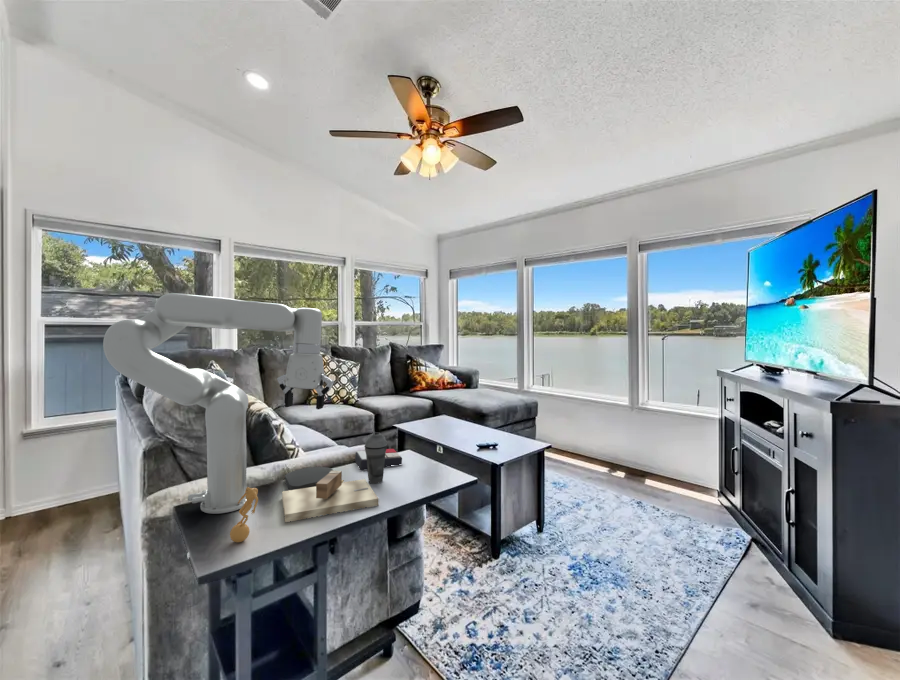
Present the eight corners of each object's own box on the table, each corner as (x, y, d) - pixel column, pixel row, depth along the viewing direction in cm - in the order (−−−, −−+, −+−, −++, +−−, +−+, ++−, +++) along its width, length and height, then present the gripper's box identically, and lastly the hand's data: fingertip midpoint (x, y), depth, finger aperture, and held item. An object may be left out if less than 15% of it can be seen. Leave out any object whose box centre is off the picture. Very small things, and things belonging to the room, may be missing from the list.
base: (285, 522, 101) (285, 514, 101) (281, 496, 117) (281, 488, 117) (378, 505, 111) (378, 497, 111) (363, 483, 127) (363, 476, 127)
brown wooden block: (326, 502, 108) (326, 483, 108) (316, 501, 108) (316, 483, 108) (341, 487, 118) (341, 470, 118) (331, 487, 118) (331, 470, 118)
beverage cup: (384, 485, 125) (385, 422, 125) (361, 485, 125) (362, 422, 125) (388, 477, 132) (389, 417, 132) (367, 476, 133) (367, 417, 132)
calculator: (402, 455, 145) (361, 458, 139) (401, 467, 145) (360, 470, 139) (394, 447, 155) (355, 449, 149) (393, 458, 155) (354, 461, 149)
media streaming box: (283, 479, 131) (283, 470, 131) (328, 472, 138) (328, 463, 138) (290, 495, 118) (290, 485, 118) (339, 486, 125) (340, 476, 125)
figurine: (223, 538, 93) (223, 487, 93) (250, 528, 97) (250, 480, 97) (237, 551, 87) (237, 497, 87) (265, 540, 92) (265, 489, 92)
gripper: (272, 348, 116) (269, 407, 116) (329, 351, 113) (326, 411, 113) (286, 348, 123) (283, 403, 123) (339, 351, 121) (337, 407, 121)
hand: (304, 407), depth 118 cm, fingers open, 9 cm apart
